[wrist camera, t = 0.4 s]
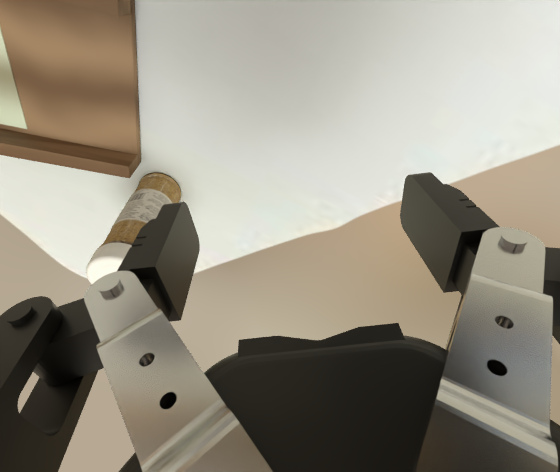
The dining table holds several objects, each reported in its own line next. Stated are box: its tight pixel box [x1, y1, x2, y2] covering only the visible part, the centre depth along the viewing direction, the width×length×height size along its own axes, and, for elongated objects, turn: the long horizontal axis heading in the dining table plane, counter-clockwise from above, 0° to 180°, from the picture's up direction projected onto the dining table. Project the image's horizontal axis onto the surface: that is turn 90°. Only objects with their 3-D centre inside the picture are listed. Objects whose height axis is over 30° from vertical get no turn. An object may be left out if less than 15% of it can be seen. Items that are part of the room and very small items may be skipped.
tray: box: [0, 0, 141, 178], centre depth 25 cm, size 14×18×4 cm
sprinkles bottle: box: [86, 173, 181, 284], centre depth 29 cm, size 5×5×14 cm
